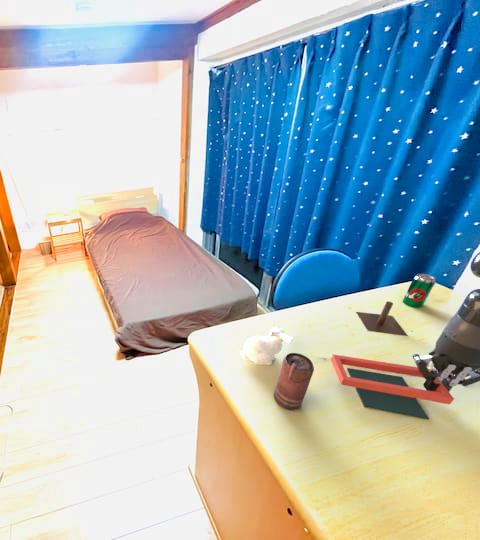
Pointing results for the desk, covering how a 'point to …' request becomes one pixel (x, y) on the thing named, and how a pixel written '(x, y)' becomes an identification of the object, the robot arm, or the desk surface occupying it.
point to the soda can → (419, 290)
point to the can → (293, 381)
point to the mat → (387, 395)
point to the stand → (381, 321)
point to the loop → (437, 396)
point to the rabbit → (264, 347)
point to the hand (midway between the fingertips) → (433, 391)
